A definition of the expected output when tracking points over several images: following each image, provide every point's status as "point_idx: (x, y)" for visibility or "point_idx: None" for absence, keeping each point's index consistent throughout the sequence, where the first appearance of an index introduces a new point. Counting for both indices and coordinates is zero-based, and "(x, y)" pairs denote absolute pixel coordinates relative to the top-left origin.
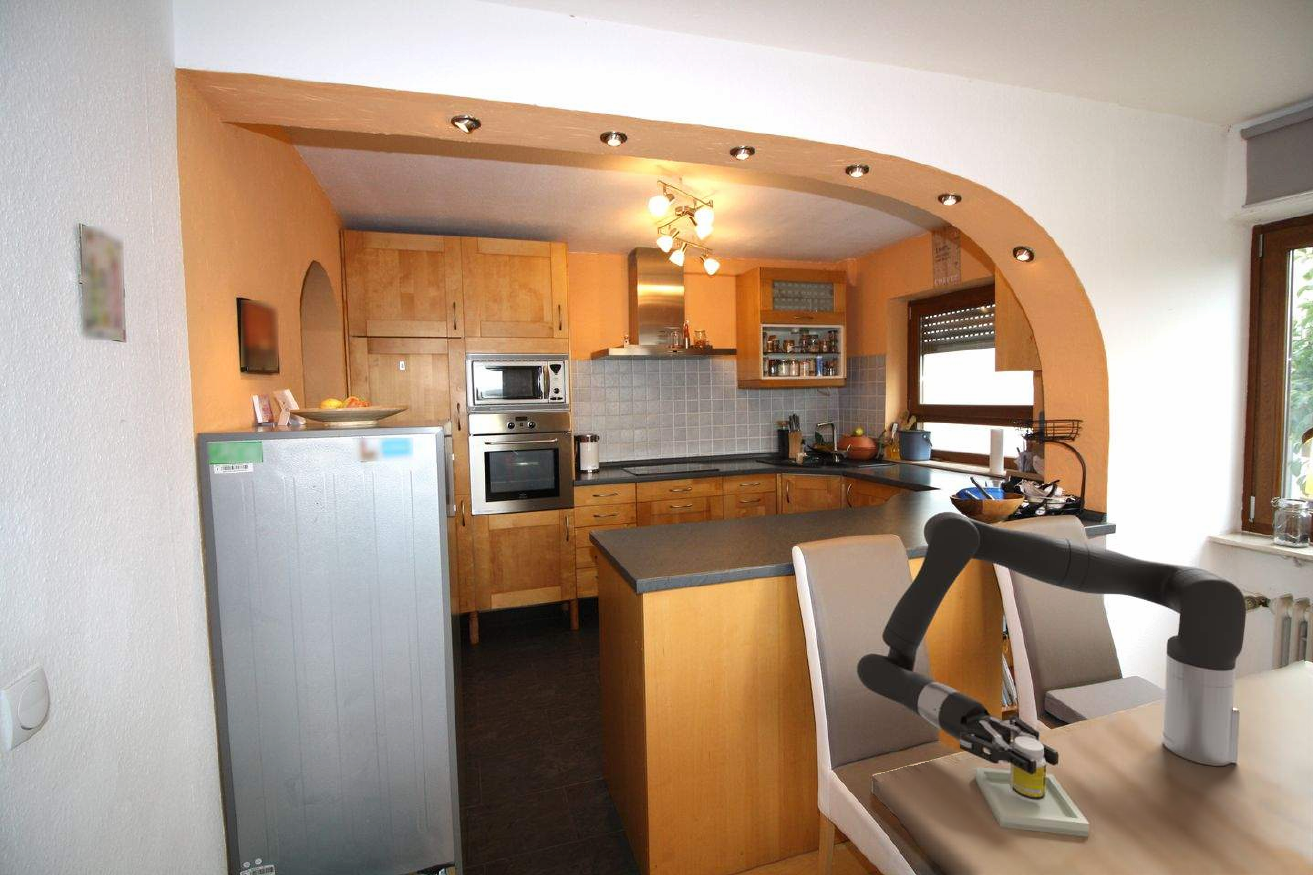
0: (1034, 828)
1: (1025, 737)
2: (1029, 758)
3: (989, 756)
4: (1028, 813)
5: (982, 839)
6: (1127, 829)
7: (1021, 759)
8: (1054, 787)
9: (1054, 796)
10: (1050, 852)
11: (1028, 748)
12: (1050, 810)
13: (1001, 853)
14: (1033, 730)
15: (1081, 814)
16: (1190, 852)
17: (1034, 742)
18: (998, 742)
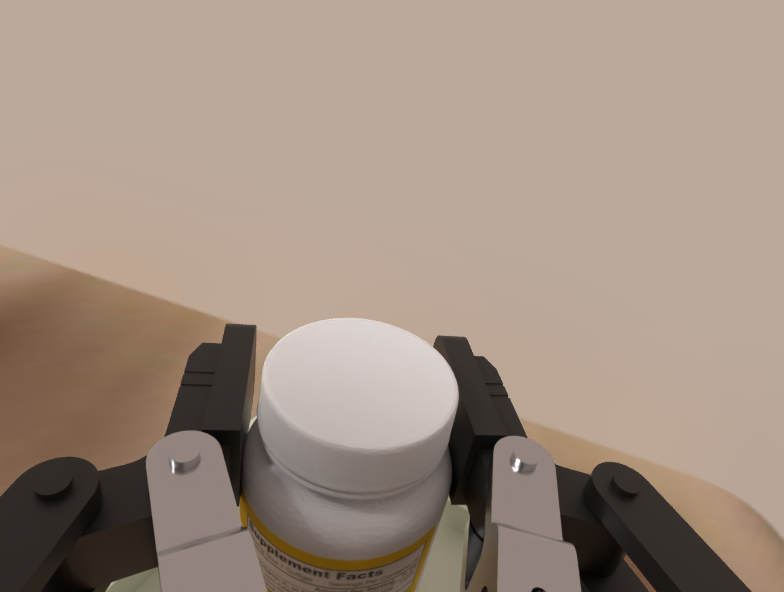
0: None
1: (312, 418)
2: (460, 348)
3: (611, 584)
4: (450, 501)
5: None
6: (120, 397)
7: (494, 381)
8: (115, 589)
9: (155, 586)
10: None
11: (425, 349)
12: None
13: None
14: (15, 518)
15: (253, 422)
16: (97, 309)
17: (314, 364)
18: (553, 517)
